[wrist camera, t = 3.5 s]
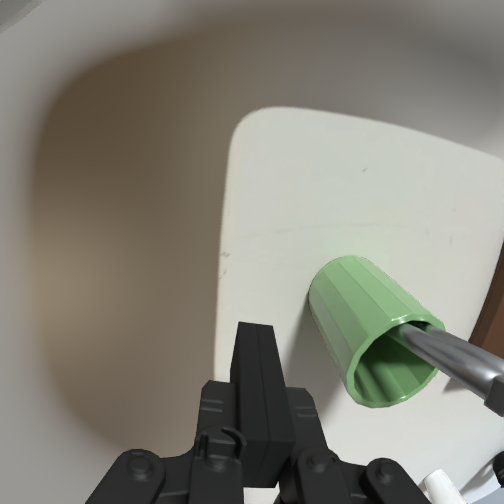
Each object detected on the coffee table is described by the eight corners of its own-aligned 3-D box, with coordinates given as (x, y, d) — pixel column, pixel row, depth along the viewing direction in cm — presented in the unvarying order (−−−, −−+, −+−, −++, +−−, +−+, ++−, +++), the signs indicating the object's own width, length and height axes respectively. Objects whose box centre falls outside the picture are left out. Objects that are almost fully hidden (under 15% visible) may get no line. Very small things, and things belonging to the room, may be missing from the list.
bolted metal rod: (332, 302, 21) (503, 420, 5) (335, 288, 21) (517, 388, 5) (362, 305, 21) (538, 405, 6) (365, 291, 21) (550, 377, 5)
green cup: (292, 287, 22) (325, 364, 13) (361, 239, 21) (430, 289, 12) (332, 341, 23) (371, 423, 14) (393, 298, 22) (456, 363, 14)
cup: (412, 486, 33) (436, 541, 21) (432, 467, 31) (461, 523, 20) (433, 482, 33) (457, 532, 22) (453, 463, 32) (482, 513, 20)
